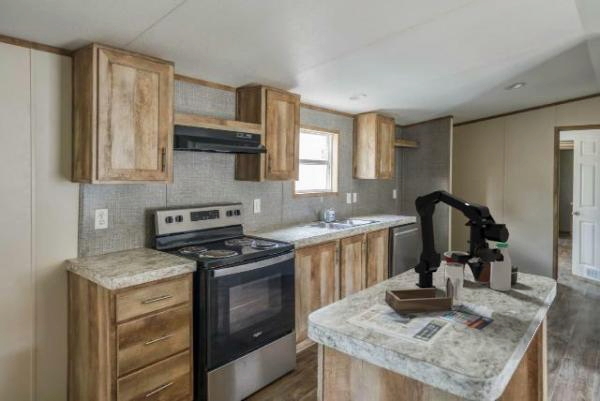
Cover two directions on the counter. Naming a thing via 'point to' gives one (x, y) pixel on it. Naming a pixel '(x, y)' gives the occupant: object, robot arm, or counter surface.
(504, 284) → the milk bottle
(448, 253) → the plastic cup
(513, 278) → the jar
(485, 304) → the counter surface
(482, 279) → the coffee cup
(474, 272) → the robot arm
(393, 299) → the wooden tray
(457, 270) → the beer glass
